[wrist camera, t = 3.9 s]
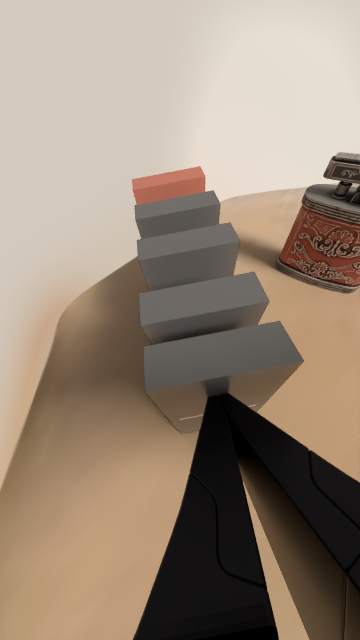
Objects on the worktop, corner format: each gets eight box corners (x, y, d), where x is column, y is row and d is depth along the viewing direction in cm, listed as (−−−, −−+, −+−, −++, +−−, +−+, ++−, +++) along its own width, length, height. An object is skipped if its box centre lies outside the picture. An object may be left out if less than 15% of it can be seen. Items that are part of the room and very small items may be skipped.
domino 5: (248, 421, 14) (304, 361, 6) (180, 434, 14) (144, 391, 6) (240, 398, 15) (279, 320, 7) (177, 410, 15) (143, 346, 7)
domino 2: (212, 304, 19) (220, 203, 11) (164, 313, 19) (135, 220, 11) (208, 292, 20) (213, 190, 12) (162, 301, 20) (134, 205, 12)
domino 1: (204, 279, 21) (205, 176, 13) (160, 287, 21) (132, 190, 13) (200, 269, 22) (200, 166, 14) (158, 277, 22) (132, 179, 14)
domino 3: (221, 334, 18) (239, 241, 9) (168, 344, 18) (138, 260, 9) (217, 320, 19) (230, 222, 10) (166, 329, 19) (136, 239, 10)
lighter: (360, 277, 19) (484, 154, 11) (352, 300, 18) (486, 182, 10) (281, 252, 22) (330, 140, 14) (269, 270, 21) (316, 159, 13)
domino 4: (232, 373, 16) (269, 301, 7) (173, 384, 16) (140, 325, 7) (227, 354, 17) (254, 271, 8) (170, 365, 17) (138, 293, 8)
